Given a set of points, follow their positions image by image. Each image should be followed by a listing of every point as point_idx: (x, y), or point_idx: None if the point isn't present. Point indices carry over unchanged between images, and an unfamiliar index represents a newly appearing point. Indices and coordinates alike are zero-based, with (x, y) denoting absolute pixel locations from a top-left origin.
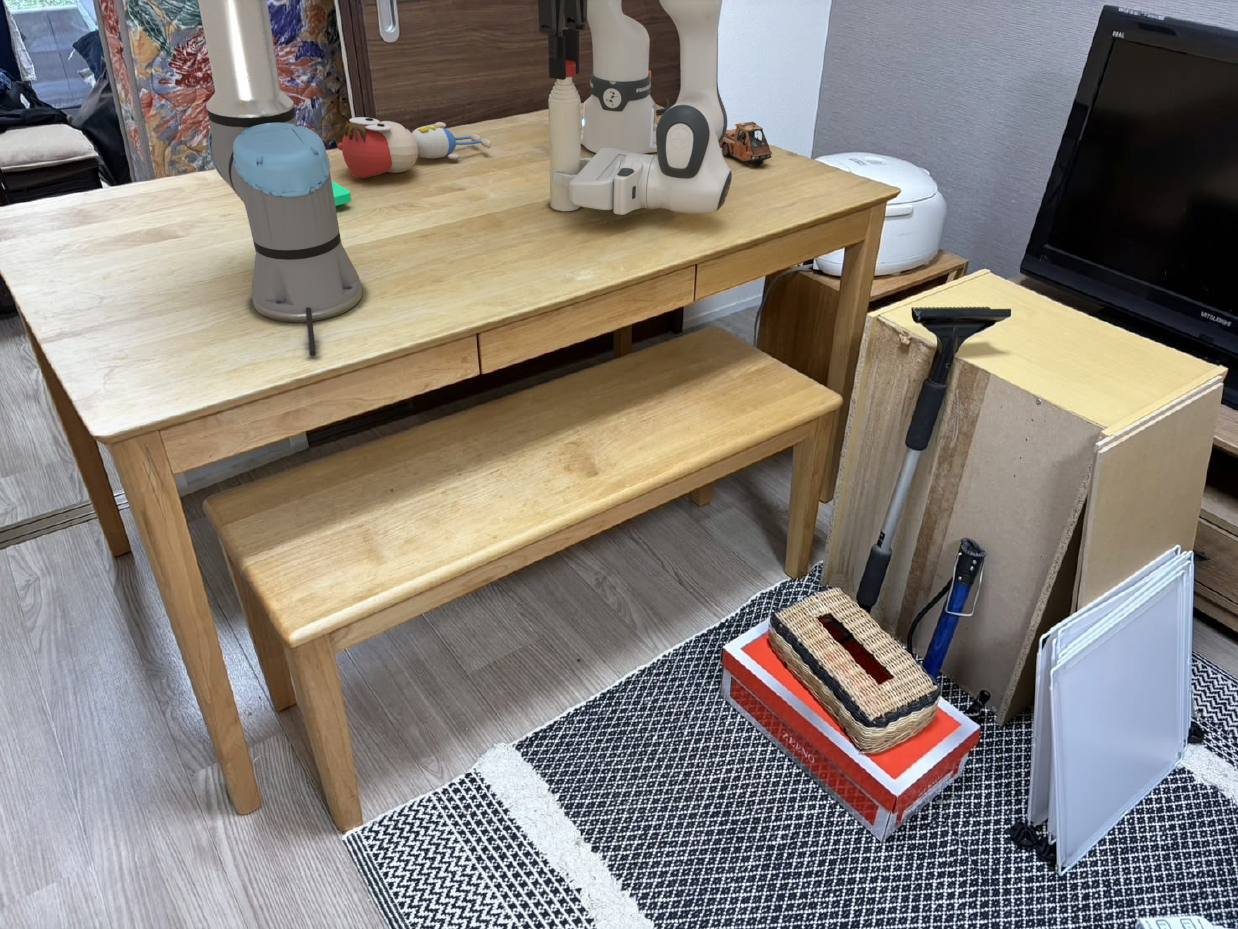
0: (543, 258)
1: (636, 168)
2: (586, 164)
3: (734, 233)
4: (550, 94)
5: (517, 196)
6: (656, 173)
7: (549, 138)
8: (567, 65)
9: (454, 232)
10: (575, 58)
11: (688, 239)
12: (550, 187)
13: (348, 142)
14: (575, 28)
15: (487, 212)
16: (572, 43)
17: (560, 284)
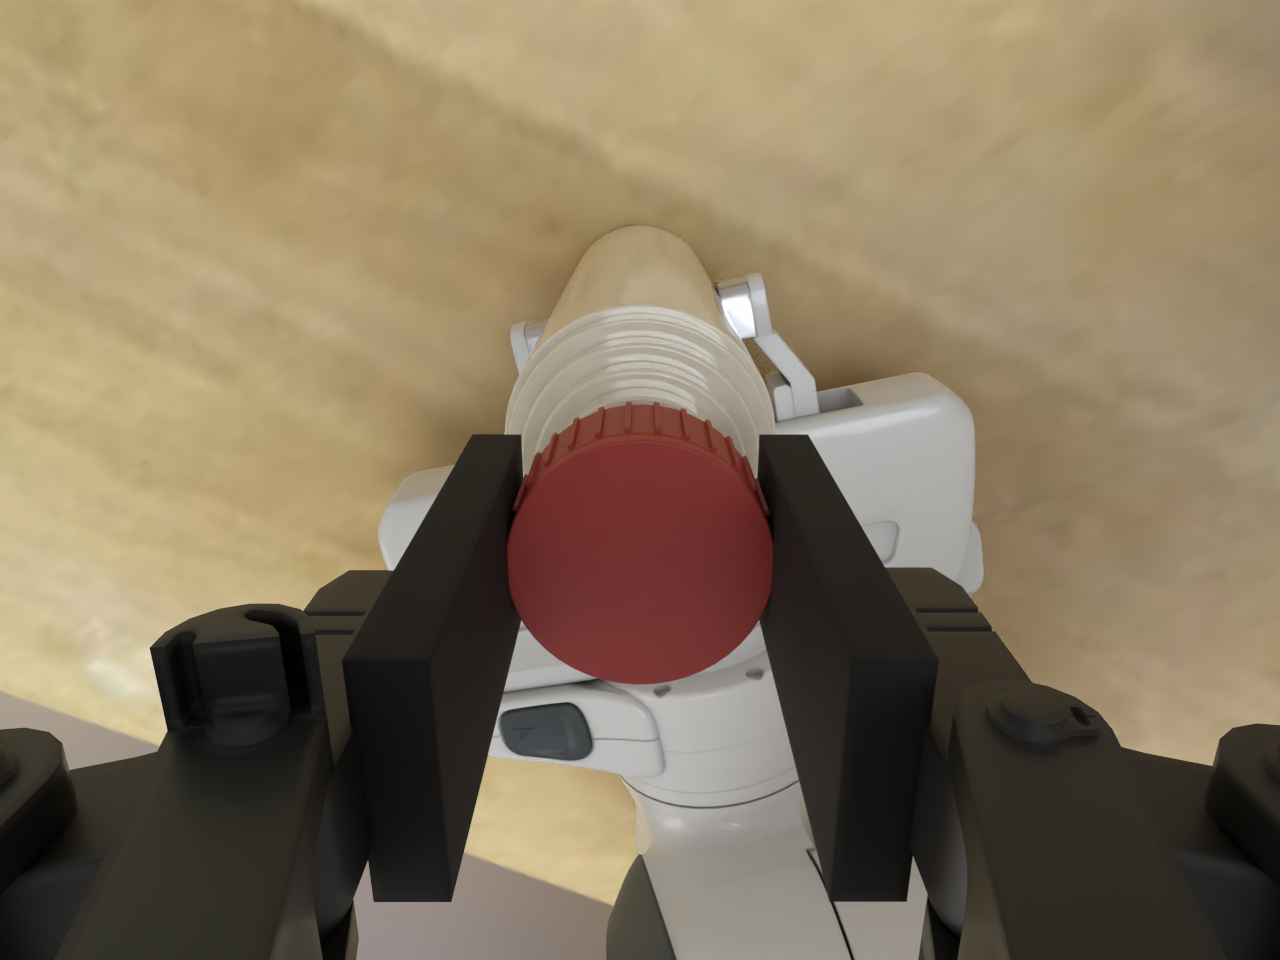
0: (140, 492)
1: (607, 761)
2: (769, 384)
3: None
4: (597, 335)
5: (619, 18)
6: (649, 817)
7: (567, 293)
8: (555, 652)
9: (74, 13)
10: (771, 654)
11: (593, 815)
12: (585, 256)
13: None
14: (926, 865)
15: (360, 6)
16: (804, 713)
17: (23, 639)
